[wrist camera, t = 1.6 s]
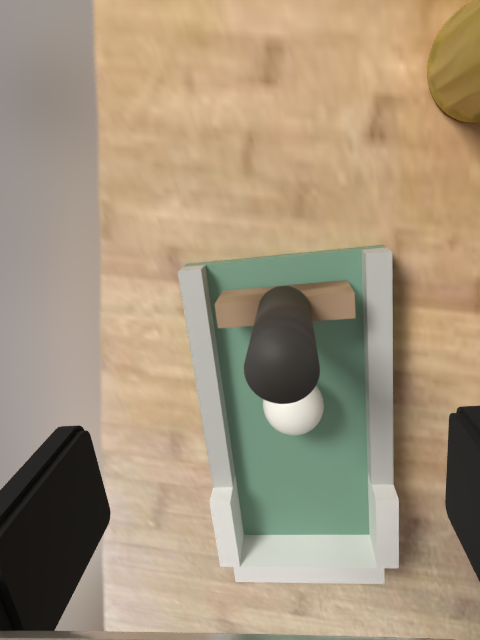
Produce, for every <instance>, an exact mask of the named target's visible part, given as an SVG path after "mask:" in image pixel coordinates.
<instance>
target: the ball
mask: <svg viewBox="0 0 480 640" xmlns="http://www.w3.org/2000/svg"><path fill="white" fill-rule="evenodd" d="M263 409H264V413H265V416H266V418H267V420H268V422H269V423H270V424H271V426H272V427H274V428H275V429H276V430H277V431H279V432H281V433H283V434H286V435H294V436H296V435H302V434H305V433H307V432H309V431H311V430H312V429H313V428H314V427H315V426H316V425H317V424H318V423H319V421H320V419H321V417H322V414H323V410H324V402H323V397H322V394H321V392H320V390H319V388H318V387H317V385H316V386H315V388H314V389H313V391H312V392H311V393H310V394H309V395H308V396H306V397H305V398H303V399H301V400H299V401H297V402H294V403H290V404H276V403H272V402H268V401H266V400H264V399H263Z"/></svg>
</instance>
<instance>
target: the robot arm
mask: <svg viewBox="0 0 480 640" xmlns="http://www.w3.org/2000/svg"><path fill="white" fill-rule="evenodd" d="M445 502H446V510H447V514H448V517H449V520H450V522H451V524H452V526H453V528H454V530H455V532H456V534H457V536H458V538H459V540H460V542H461V544H462V546H463V548H464V550H465V553H466V555H467V557H468V559H469V561H470V563H471V565H472V567H473V569H474V571H475V573H476V575H477V577H478V579H479V581H480V406H466V407H459V408H458V409H457V412H456V413H451V414H450V416H449V433H448V456H447V478H446V501H445ZM109 520H110V507H109V504H108V500H107V496H106V492H105V489H104V485H103V481H102V477H101V474H100V470H99V466H98V462H97V458H96V455H95V451H94V447H93V443H92V440H91V436H90V434H89V432H88V431H84V429H83V427H81V426H62V427H58V428H57V429H56V430H55V431H54V432H53V433H52V434H51V435H50V436H49V437H48V439H47V440H46V441H45V442H44V443H43V444H42V445H41V446H40V448H38V450H37V451H36V452H35V453H34V454H33V455H32V456H31V457H30V458H29V460H28V461H27V462H26V463H25V464H24V465H23V466H22V467H21V468H20V469H19V471H18V472H17V473H16V474H15V475H14V476H13V477H12V478H11V479H10V480H9V481H8V483H7V484H6V485H5V486H4V487H3V488H2V489H1V490H0V640H453V639H430V638H394V637H355V636H316V635H273V634H224V633H169V632H100V631H98V632H97V631H95V632H94V631H54V630H55V628H56V626H57V624H58V622H59V620H60V618H61V616H62V614H63V612H64V610H65V608H66V606H67V604H68V603H69V601H70V598H71V597H72V594H73V593H74V591H75V589H76V587H77V585H78V583H79V581H80V579H81V577H82V575H83V573H84V571H85V569H86V567H87V565H88V563H89V561H90V559H91V557H92V555H93V553H94V551H95V549H96V547H97V545H98V543H99V542H100V540H101V538H102V536H103V534H104V532H105V530H106V528H107V526H108V523H109Z"/></svg>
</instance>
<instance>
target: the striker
mask: <svg viewBox="0 0 480 640" xmlns="http://www.w3.org/2000/svg"><path fill="white" fill-rule="evenodd" d="M215 311H216V318H217V325H218V328H229V327H243V326H253V330H252V334H251V338H250V342H249V346H248V350H247V354H246V358H245V363H244V375H245V379H246V382H247V383H248V385H249V387H250V388H251V390H252V391H253V392H254V393H255V394H256V395H257V396H259V397H260V398H262V399H264V400H266V401H268V402H272V403H276V404H290V403H294V402H297V401H299V400H301V399H303V398H305V397H306V396H308V395H309V394H310V393H311V392H312V391H313V389H314V388H315V386H316V385H317V382H318V380H319V376H320V365H319V358H318V352H317V346H316V340H315V334H314V328H313V322H312V321H324V320H337V319H351V318H356V317H355V292H354V291H353V289H352V287H351V286H350V284H349V282H348V281H347V280H341V281H329V282H318V283H306V284H295V285H283V286H272V287H260V288H249V289H237V290H226V291H222V293H221V295H220V296H219V298H218V299H217V301H216V303H215Z"/></svg>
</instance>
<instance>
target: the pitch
mask: <svg viewBox="0 0 480 640" xmlns="http://www.w3.org/2000/svg"><path fill="white" fill-rule="evenodd" d="M178 277H179V283H180V289H181V295H182V301H183V307H184V313H185V319H186V326H187V332H188V338H189V344H190V350H191V356H192V362H193V368H194V374H195V380H196V387H197V393H198V399H199V405H200V411H201V417H202V423H203V429H204V435H205V441H206V447H207V454H208V460H209V466H210V472H211V478H212V484H213V490H212V494H211V498H210V502H209V503H210V508H211V514H212V520H213V526H214V532H215V538H216V544H217V550H218V556H219V562H220V567H233V568H234V574H235V581H236V582H282V583H349V584H384V568H399V499H398V496H397V493H396V490H395V488H394V485H393V301H392V251H391V250H390V249H388V248H387V247H385V246H384V245H378V246H368V247H358V248H347V249H337V250H327V251H317V252H306V253H296V254H286V255H276V256H265V257H255V258H245V259H235V260H224V261H214V262H204V263H194V264H186V265H185V266H184V267H183V268H181V269H180V270H179V271H178ZM341 280H347V281H348V282H349V284H350V286H351V287H352V289H353V291H354V292H355V317H356V318H351V319H337V320H324V321H312V322H313V328H314V334H315V340H316V346H317V352H318V358H319V365H320V376H319V380H318V382H317V387H318V388H319V390H320V392H321V394H322V397H323V402H324V410H323V414H322V417H321V419H320V421H319V423H318V424H317V425H316V426H315V427H314V428H313V429H312V430H311V431H309V432H307V433H305V434H302V435H296V436H294V435H286V434H283V433H281V432H279V431H277V430H276V429H275V428H274V427H272V426H271V424H270V423H269V422H268V420H267V418H266V416H265V413H264V409H263V399H262V398H260V397H259V396H257V395H256V394H255V393H254V392H253V391H252V390H251V388H250V387H249V385H248V383H247V382H246V379H245V375H244V363H245V358H246V354H247V350H248V346H249V342H250V338H251V334H252V330H253V326H243V327H229V328H218V325H217V318H216V311H215V303H216V301H217V299H218V298H219V296H220V295H221V293H222V291H226V290H237V289H249V288H260V287H272V286H283V285H295V284H306V283H318V282H329V281H341Z"/></svg>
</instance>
